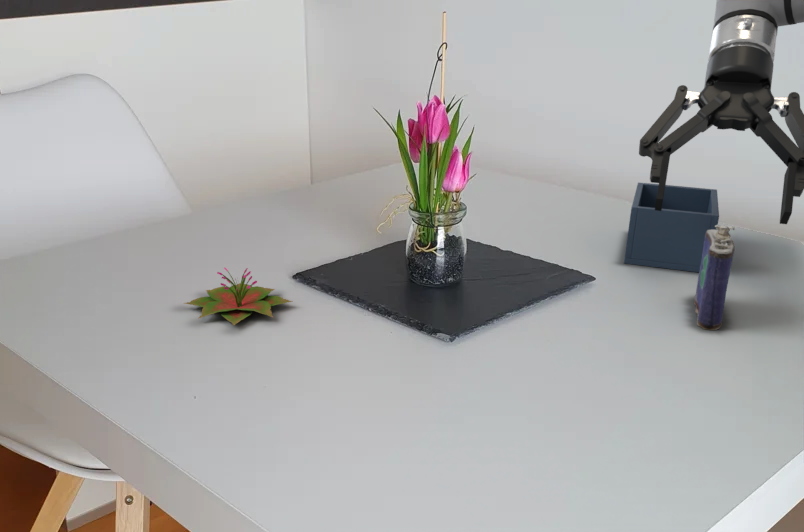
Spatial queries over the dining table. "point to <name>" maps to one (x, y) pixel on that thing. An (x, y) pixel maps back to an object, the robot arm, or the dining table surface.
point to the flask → (713, 277)
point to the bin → (670, 226)
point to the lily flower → (237, 300)
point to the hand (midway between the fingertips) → (720, 211)
